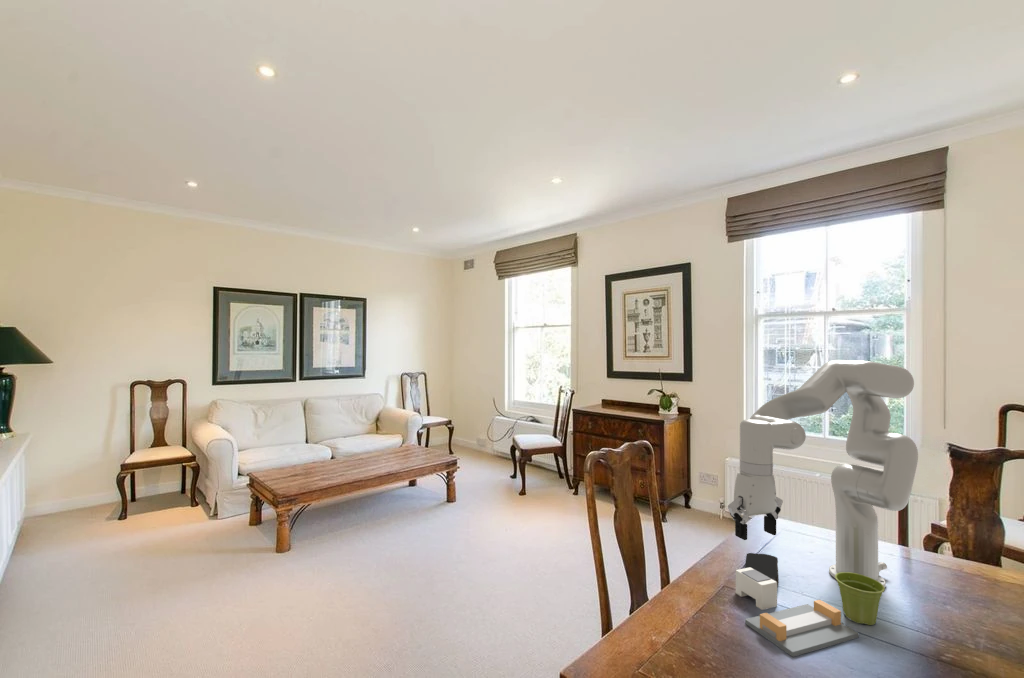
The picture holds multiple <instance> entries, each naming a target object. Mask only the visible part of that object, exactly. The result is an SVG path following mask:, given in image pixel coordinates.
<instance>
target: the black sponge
mask: <svg viewBox="0 0 1024 678" xmlns="http://www.w3.org/2000/svg"><path fill="white" fill-rule="evenodd" d="M778 560H779V559H778V557H777V556H775V555H771V554H766V553H756V552H755V553H754V552H748V553H746V556H745V563H744V564H745V565H744V568H749V567H751V568H753V569H755V570H756V571H758V572H760V573H762V574H764V575H765V576H767V577H769V578H771V579H772V580H774V581H776V582H777V588H778V587H779V567H778V563H779V561H778Z"/></svg>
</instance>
